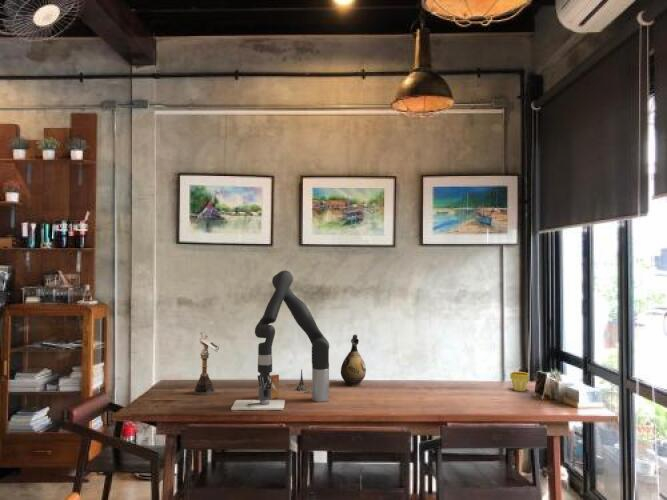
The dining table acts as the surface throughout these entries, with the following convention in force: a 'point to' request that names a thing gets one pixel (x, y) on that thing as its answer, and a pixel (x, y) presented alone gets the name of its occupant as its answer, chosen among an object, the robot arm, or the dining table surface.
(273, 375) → the small box
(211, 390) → the pedestal telescope
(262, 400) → the tuning knob
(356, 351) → the ceramic jug
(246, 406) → the gauge board
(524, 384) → the plant pot
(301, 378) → the eiffel tower figurine
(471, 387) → the dining table surface
